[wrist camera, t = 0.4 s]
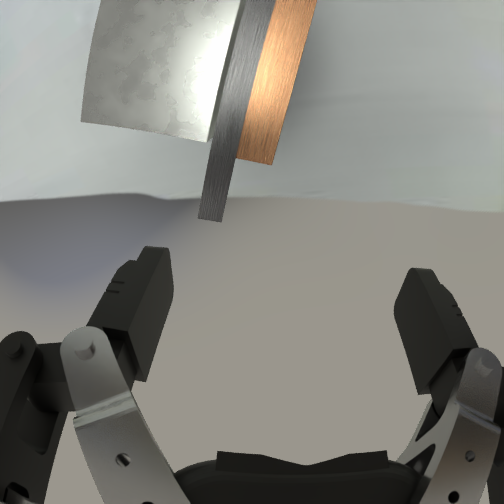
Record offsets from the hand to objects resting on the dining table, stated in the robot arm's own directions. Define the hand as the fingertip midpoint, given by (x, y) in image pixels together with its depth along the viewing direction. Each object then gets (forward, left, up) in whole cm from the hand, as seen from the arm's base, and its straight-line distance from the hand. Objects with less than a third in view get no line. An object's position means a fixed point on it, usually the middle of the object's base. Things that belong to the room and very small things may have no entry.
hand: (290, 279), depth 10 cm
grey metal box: (-7, -14, -29) cm, 33 cm away
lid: (-7, -6, -13) cm, 16 cm away
